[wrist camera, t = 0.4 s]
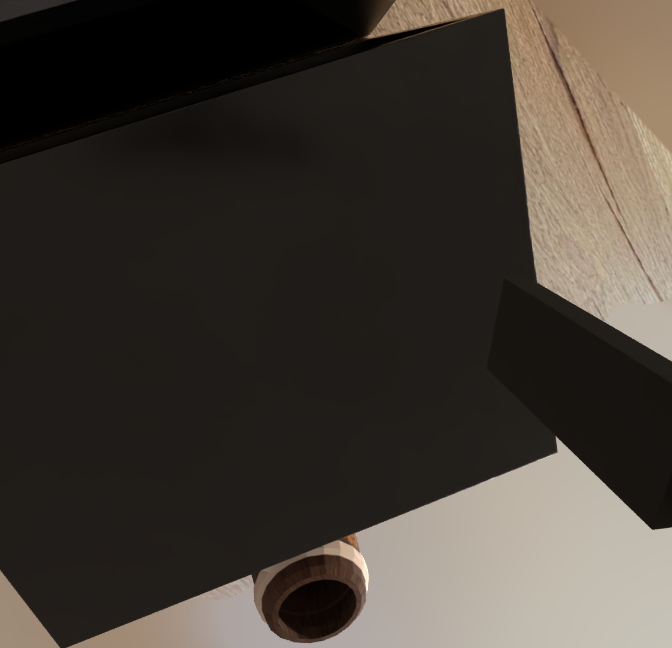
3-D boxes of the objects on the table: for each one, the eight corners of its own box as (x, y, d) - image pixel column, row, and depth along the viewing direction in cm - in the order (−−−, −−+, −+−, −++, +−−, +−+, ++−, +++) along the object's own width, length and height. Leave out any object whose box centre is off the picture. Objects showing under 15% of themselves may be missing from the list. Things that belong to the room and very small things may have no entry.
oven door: (-84, 102, 49) (-413, -12, 24) (353, -26, 53) (457, -237, 28) (-54, 164, 50) (-339, 117, 25) (370, 34, 54) (484, -116, 29)
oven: (-51, 167, 51) (-254, 241, 27) (369, 38, 55) (504, 7, 31) (107, 444, 65) (61, 650, 41) (432, 326, 69) (557, 452, 45)
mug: (372, 504, 77) (411, 593, 64) (294, 575, 79) (316, 677, 65) (266, 425, 69) (286, 510, 55) (181, 508, 70) (180, 609, 57)
